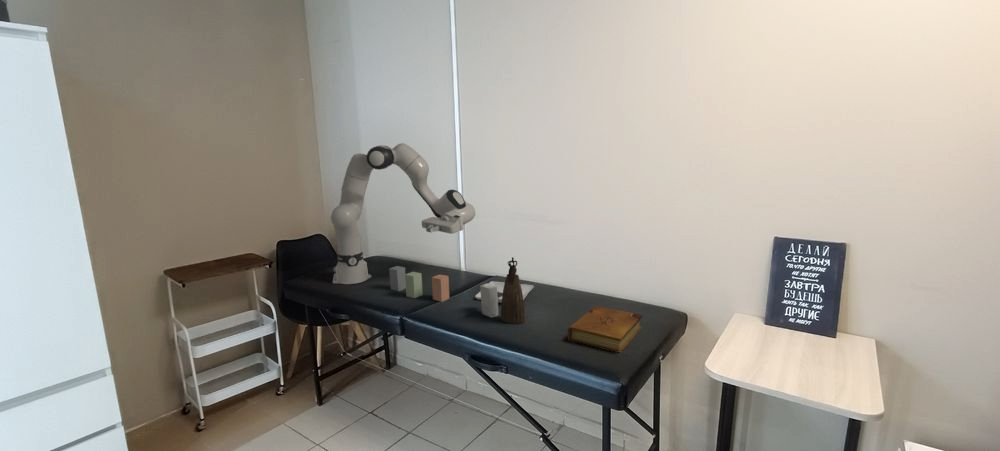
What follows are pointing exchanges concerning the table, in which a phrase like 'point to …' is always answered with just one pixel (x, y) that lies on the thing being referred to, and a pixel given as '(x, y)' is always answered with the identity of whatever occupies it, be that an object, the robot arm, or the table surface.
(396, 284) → the slate block
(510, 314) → the statue
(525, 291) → the salad plate
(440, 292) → the terracotta block
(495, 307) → the skincare box
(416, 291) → the sage block
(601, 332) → the diary
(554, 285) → the table surface
